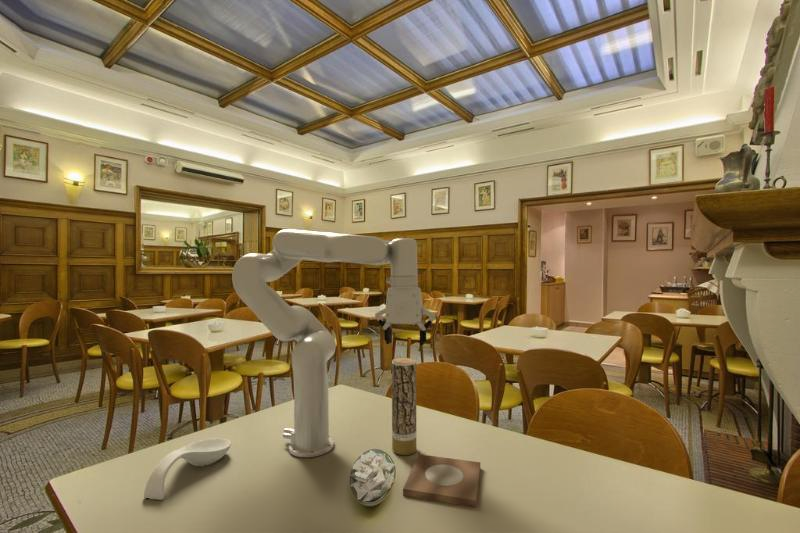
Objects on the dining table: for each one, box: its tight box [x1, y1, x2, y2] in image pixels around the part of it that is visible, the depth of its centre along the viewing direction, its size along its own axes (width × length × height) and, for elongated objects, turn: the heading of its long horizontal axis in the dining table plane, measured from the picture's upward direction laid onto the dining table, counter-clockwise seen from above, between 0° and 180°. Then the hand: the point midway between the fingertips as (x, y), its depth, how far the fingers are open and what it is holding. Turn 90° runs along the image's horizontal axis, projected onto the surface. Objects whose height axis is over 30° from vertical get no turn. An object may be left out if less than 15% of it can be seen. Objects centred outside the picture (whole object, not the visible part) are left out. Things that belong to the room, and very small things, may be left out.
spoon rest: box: [143, 437, 232, 501], centre depth 93 cm, size 24×12×7 cm, turn 172°
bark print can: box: [391, 357, 417, 456], centre depth 103 cm, size 7×7×25 cm
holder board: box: [402, 453, 481, 508], centre depth 88 cm, size 16×16×2 cm
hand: (405, 343), depth 103 cm, fingers open, 9 cm apart
